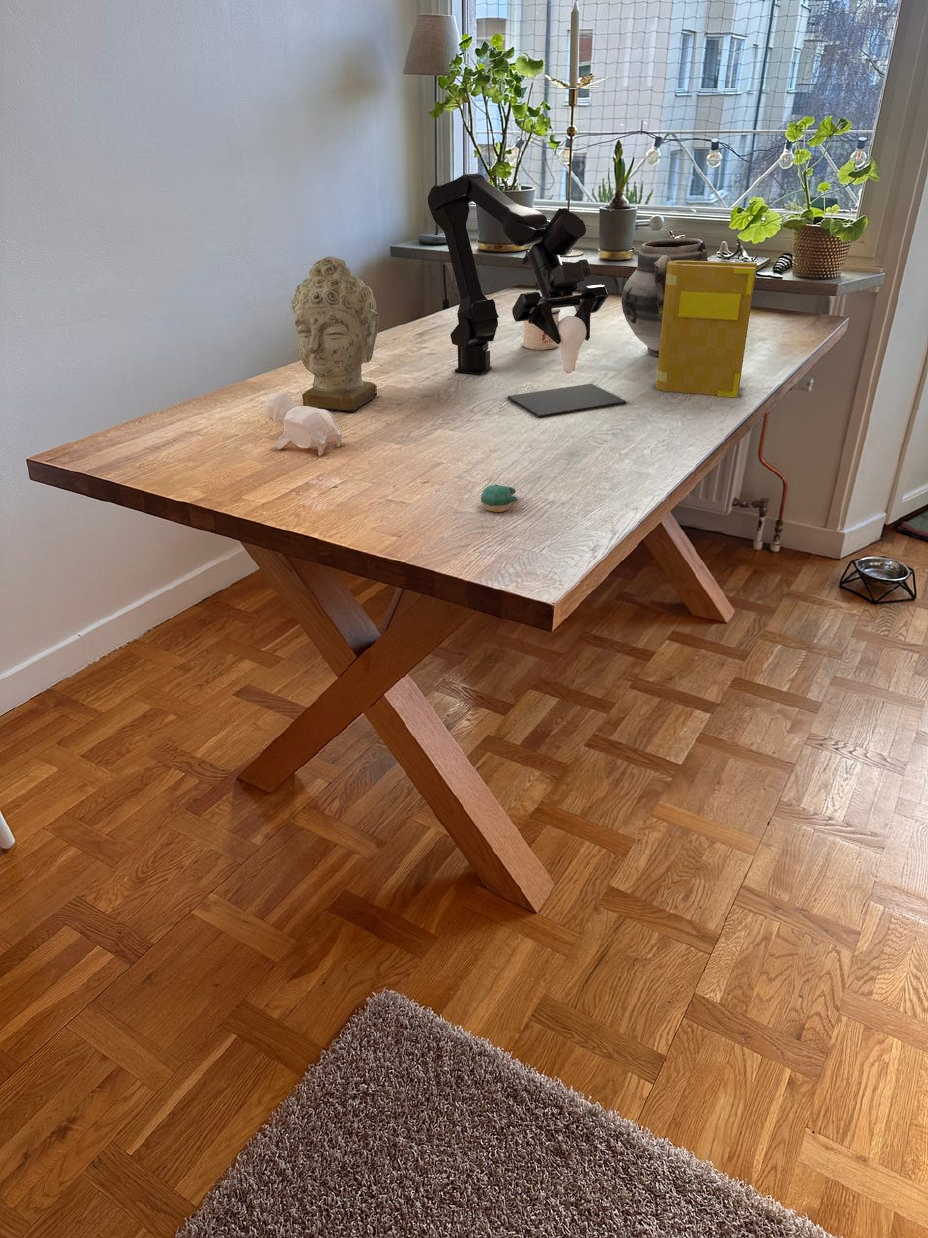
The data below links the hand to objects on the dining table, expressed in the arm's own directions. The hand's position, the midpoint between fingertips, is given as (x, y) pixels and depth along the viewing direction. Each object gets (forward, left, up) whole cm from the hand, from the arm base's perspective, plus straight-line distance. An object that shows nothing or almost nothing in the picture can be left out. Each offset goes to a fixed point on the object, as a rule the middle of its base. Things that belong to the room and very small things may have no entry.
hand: (573, 341), depth 173 cm
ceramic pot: (+6, +49, -13) cm, 51 cm away
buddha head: (-45, -15, -13) cm, 49 cm away
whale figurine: (+7, -50, -13) cm, 52 cm away
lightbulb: (-1, +1, -7) cm, 7 cm away
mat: (-2, +4, -13) cm, 14 cm away
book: (+20, +22, -13) cm, 33 cm away
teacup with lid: (-24, +45, -13) cm, 53 cm away
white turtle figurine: (-37, -40, -13) cm, 56 cm away
